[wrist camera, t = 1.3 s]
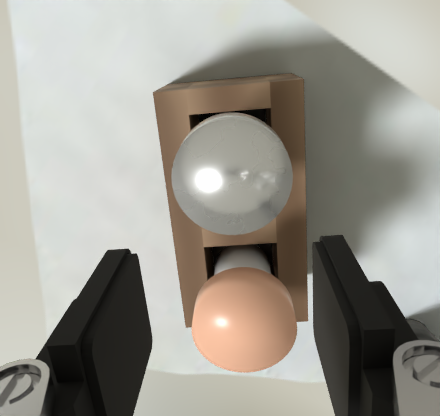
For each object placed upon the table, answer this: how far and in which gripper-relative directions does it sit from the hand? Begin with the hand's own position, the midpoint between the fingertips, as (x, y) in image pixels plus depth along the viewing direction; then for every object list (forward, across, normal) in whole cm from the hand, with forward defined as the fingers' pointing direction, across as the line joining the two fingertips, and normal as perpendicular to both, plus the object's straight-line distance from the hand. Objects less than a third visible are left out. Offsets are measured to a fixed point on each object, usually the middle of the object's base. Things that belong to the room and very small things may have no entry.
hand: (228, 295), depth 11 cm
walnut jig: (+22, 0, +4) cm, 23 cm away
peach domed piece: (+18, 0, +9) cm, 20 cm away
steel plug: (+18, 0, 0) cm, 18 cm away
